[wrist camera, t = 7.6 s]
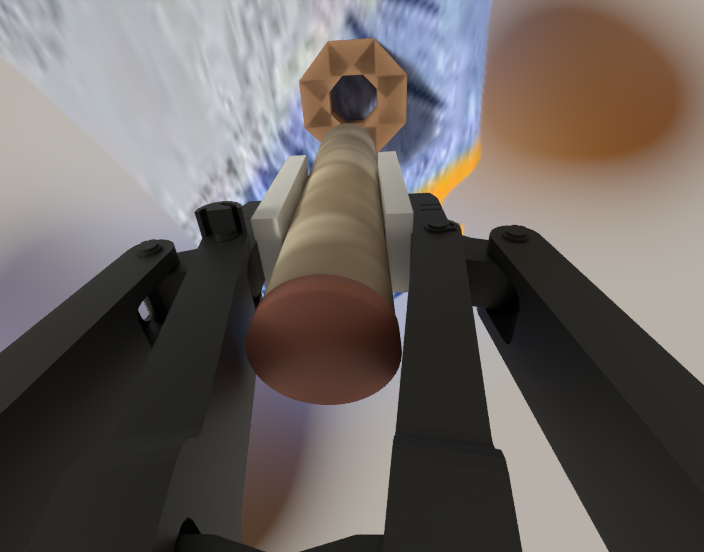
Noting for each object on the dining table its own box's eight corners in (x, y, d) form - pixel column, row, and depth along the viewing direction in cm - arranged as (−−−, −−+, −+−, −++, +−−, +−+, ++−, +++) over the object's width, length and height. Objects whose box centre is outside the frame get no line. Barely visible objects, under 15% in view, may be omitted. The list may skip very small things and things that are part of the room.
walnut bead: (312, 147, 41) (308, 157, 38) (300, 42, 36) (294, 43, 32) (401, 143, 41) (405, 152, 37) (403, 36, 35) (408, 36, 32)
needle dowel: (322, 181, 22) (261, 405, 9) (316, 123, 20) (228, 293, 7) (376, 179, 22) (400, 403, 9) (375, 120, 20) (403, 288, 7)
